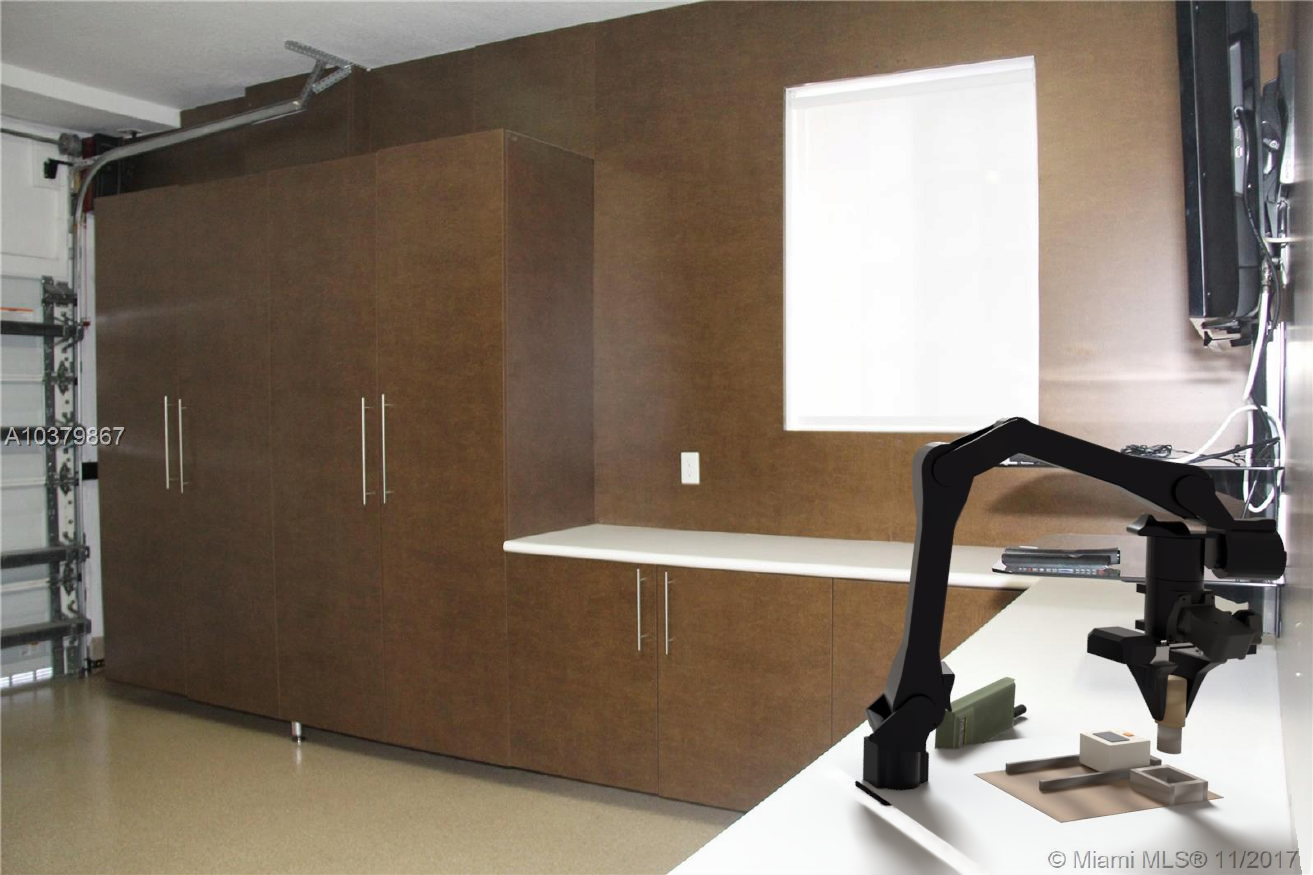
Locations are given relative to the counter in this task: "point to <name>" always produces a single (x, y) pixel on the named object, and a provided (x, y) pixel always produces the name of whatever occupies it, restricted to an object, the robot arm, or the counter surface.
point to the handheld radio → (979, 716)
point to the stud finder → (1113, 750)
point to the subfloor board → (1096, 787)
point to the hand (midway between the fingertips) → (1169, 719)
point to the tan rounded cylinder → (1173, 717)
